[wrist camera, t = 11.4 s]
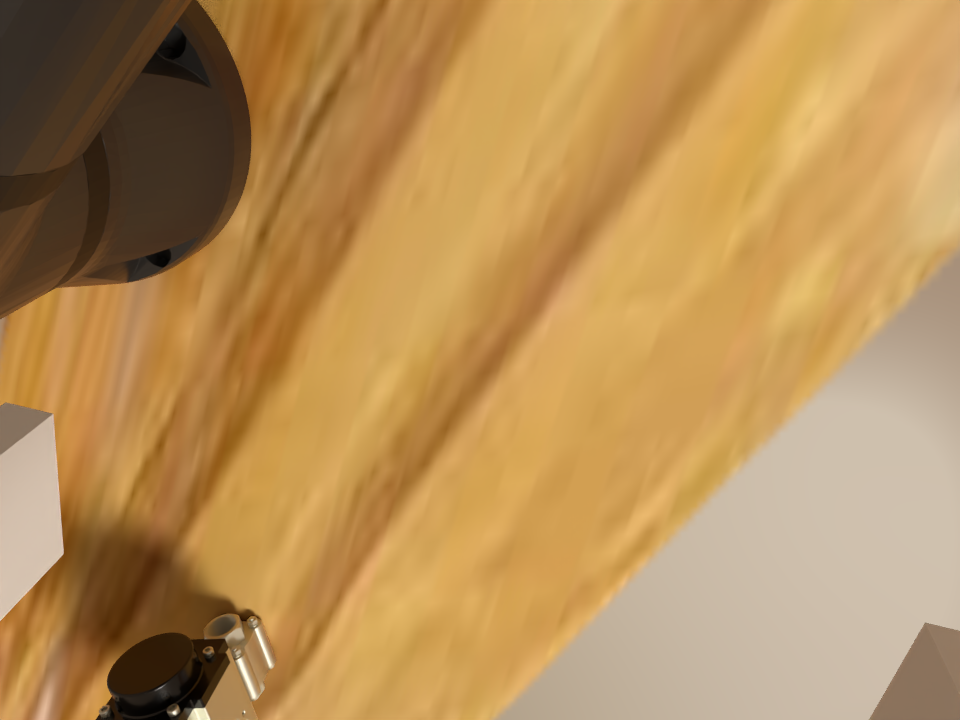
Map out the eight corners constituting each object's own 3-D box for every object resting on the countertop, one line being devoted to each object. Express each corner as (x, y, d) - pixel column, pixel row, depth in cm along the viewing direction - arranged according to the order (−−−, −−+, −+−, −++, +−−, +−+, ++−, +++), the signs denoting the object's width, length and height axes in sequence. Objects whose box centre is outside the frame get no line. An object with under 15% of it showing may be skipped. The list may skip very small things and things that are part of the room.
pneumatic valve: (240, 706, 54) (147, 889, 43) (182, 566, 49) (60, 731, 38) (318, 705, 52) (241, 892, 42) (265, 561, 48) (164, 730, 37)
